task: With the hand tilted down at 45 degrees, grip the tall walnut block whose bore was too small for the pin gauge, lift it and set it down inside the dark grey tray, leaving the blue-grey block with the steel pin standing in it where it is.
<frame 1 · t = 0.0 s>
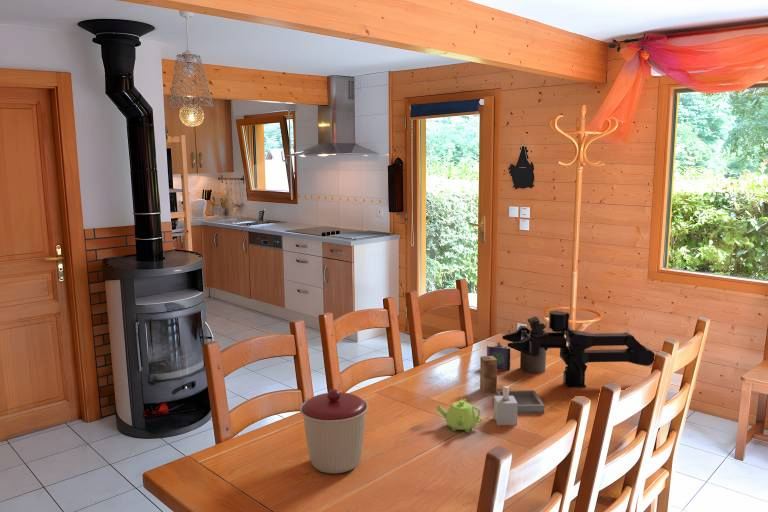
hand: (504, 341, 218), 17 cm above the table, tool horizontal, fingers open, 9 cm apart
pillar candle: (533, 370, 237), on the table
tray: (519, 405, 203), on the table
walnut block: (488, 390, 216), on the table
flask: (498, 369, 239), on the table
teapot: (458, 427, 187), on the table
gauged block: (505, 420, 191), on the table
canister: (335, 465, 165), on the table
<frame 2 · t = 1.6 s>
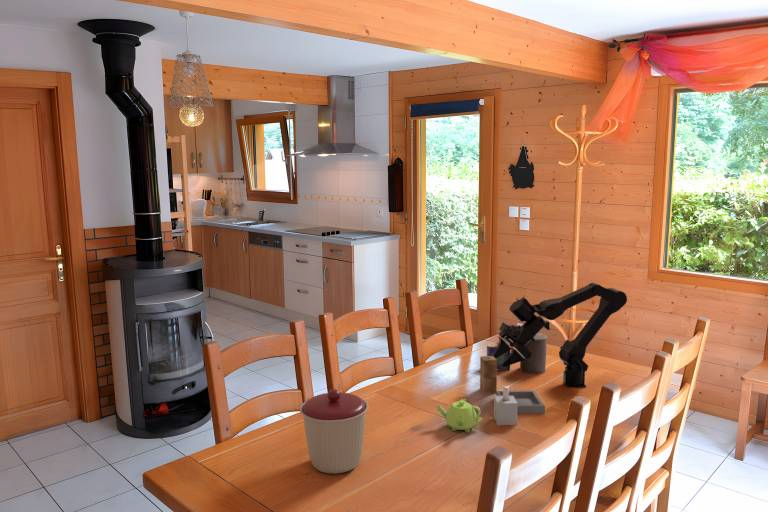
hand: (498, 362, 215), 10 cm above the table, tool tilted 45°, fingers open, 9 cm apart
nothing on the table moved.
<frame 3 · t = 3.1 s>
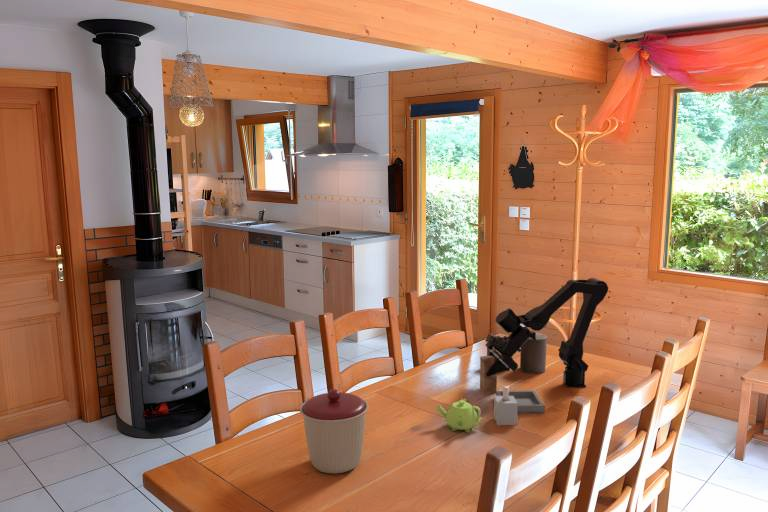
hand: (484, 373, 215), 7 cm above the table, tool tilted 45°, fingers closed on walnut block, 4 cm apart
walnut block: (488, 390, 216), on the table, touching gripper
everything else where it was.
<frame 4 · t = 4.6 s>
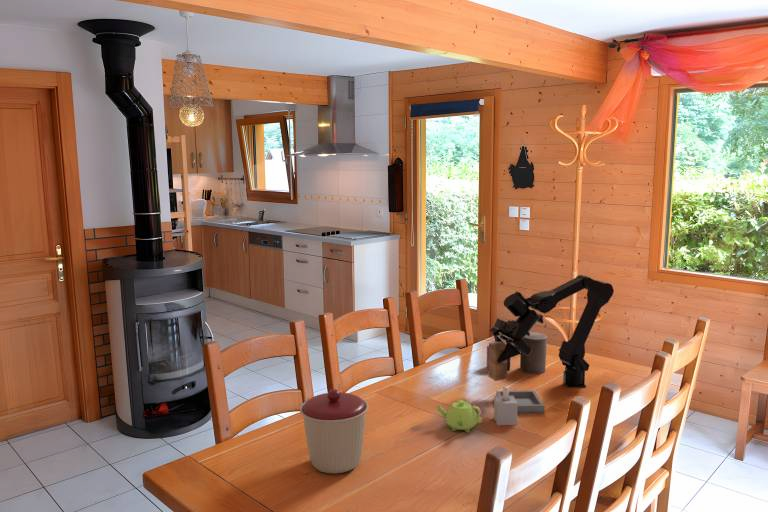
hand: (494, 359, 208), 13 cm above the table, tool tilted 45°, fingers closed on walnut block, 4 cm apart
walnut block: (497, 377, 209), point 7 cm above the table, touching gripper
everything else where it was.
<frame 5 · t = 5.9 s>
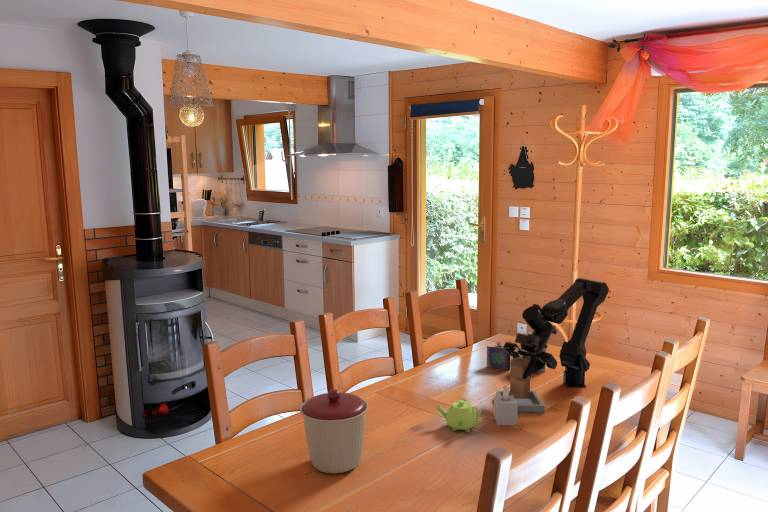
hand: (517, 376, 200), 10 cm above the table, tool tilted 45°, fingers closed on walnut block, 4 cm apart
walnut block: (519, 394, 202), point 4 cm above the table, touching gripper
everything else where it was.
when the fingers open (9 cm above the table, at t = 6.5 s): walnut block drops 1 cm, resting on tray.
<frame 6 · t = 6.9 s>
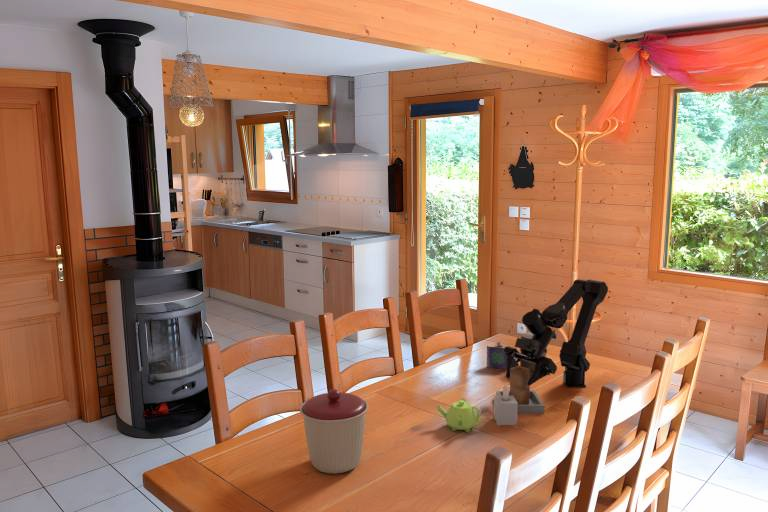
hand: (517, 381, 200), 9 cm above the table, tool tilted 45°, fingers open, 9 cm apart
walnut block: (519, 403, 202), point 1 cm above the table, touching tray
everything else where it was.
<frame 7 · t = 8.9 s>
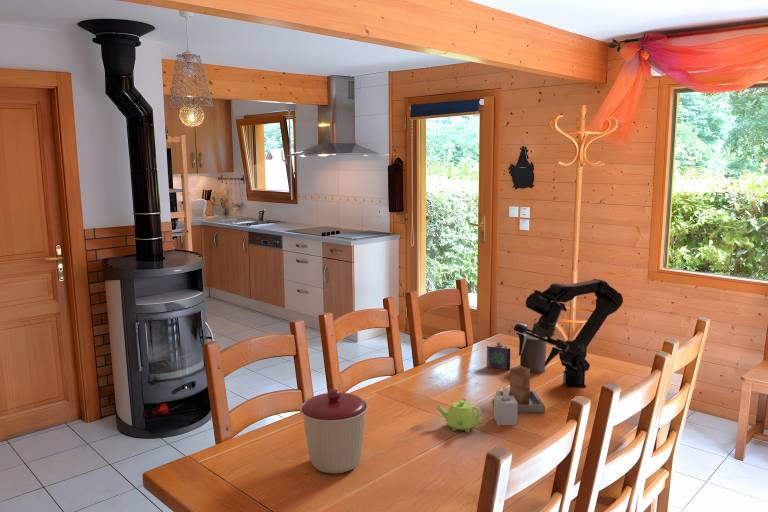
hand: (532, 360, 210), 12 cm above the table, tool tilted 25°, fingers open, 9 cm apart
nothing on the table moved.
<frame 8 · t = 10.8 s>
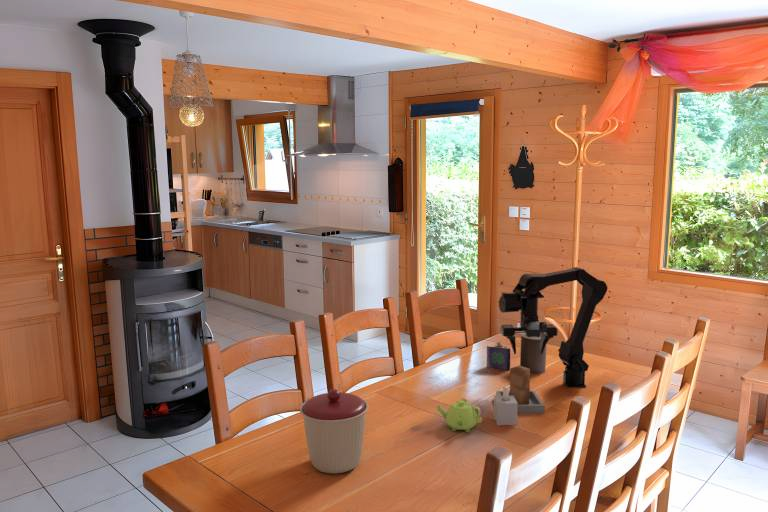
hand: (528, 353, 215), 13 cm above the table, tool pointing down, fingers open, 9 cm apart
nothing on the table moved.
at the end: walnut block inside the target area on the tray (0.0 cm from its centre), point 0.8 cm above the tray's base; walnut block tilted 0°; the gripper is holding nothing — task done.
